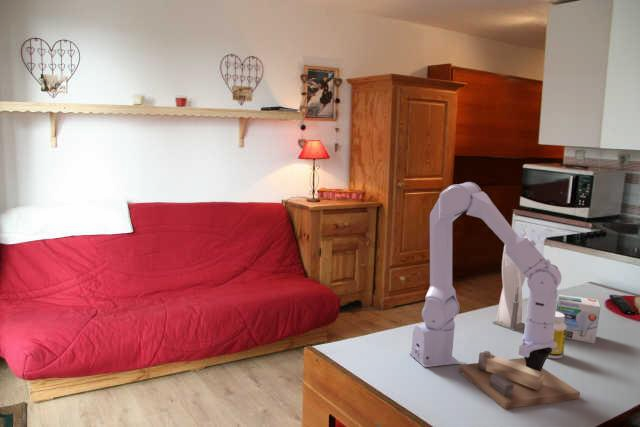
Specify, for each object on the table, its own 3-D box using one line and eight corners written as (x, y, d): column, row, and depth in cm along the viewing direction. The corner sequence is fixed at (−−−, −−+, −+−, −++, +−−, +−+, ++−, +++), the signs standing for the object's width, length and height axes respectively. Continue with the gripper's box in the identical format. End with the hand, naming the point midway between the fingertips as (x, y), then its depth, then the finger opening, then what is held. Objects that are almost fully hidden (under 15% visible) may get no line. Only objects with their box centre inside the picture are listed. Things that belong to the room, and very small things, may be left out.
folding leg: (475, 367, 119) (476, 351, 118) (482, 362, 122) (483, 347, 121) (536, 390, 109) (538, 374, 109) (542, 385, 112) (544, 369, 111)
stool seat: (504, 409, 105) (506, 391, 104) (459, 370, 121) (460, 355, 120) (579, 398, 110) (581, 381, 110) (526, 363, 126) (527, 348, 126)
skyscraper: (488, 321, 153) (497, 230, 149) (502, 316, 159) (512, 227, 154) (514, 330, 147) (525, 235, 142) (528, 324, 152) (539, 232, 148)
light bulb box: (553, 336, 144) (558, 300, 143) (552, 328, 151) (557, 293, 149) (596, 344, 140) (601, 306, 139) (593, 335, 147) (598, 299, 145)
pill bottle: (566, 360, 129) (571, 319, 127) (540, 358, 130) (545, 316, 128) (559, 350, 135) (564, 310, 133) (534, 347, 136) (539, 308, 134)
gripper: (545, 333, 104) (538, 395, 106) (570, 317, 114) (563, 373, 117) (512, 323, 109) (505, 382, 111) (538, 308, 119) (532, 362, 121)
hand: (532, 377), depth 114 cm, fingers closed
